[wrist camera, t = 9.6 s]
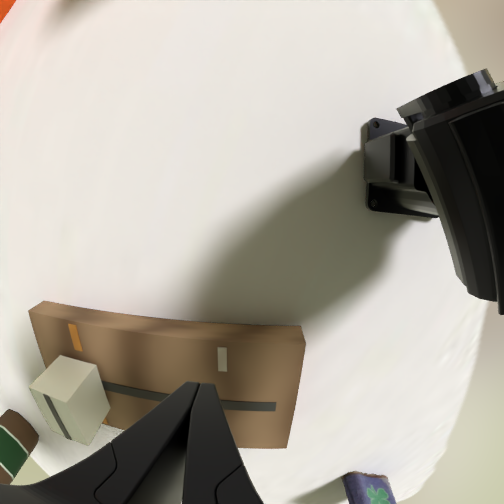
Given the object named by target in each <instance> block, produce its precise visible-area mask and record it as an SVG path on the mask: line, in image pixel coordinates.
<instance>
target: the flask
mask: <svg viewBox="0 0 504 504" xmlns="http://www.w3.org/2000/svg"><path fill="white" fill-rule="evenodd" d="M342 480H343V483H344V486H345V490H346V495H347V497H348V501H349V504H396V501H395V498H394V496H393V493H392V490H391V487H390V483H389V482H388V478H387V477H386V476H384V475H382V476H379V475H376V474H368V475H367V473H364V474H363V473H362V472H357V471H353V472H348V473H347V474H345V475H343V477H342Z"/></svg>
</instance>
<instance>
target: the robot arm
mask: <svg viewBox="0 0 504 504" xmlns="http://www.w3.org/2000/svg"><path fill="white" fill-rule="evenodd" d="M397 111H398V113H399V114H400V116H401V118H404V120H405V122H406V124H407V125H405V124H401V123H397V122H393V121H388V120H384V119H379V118H373V119H371V120H369V122H368V141H367V142H366V143H365V158H364V180H365V181H366V182H367V187H366V207H367V208H368V209H369V210H371V211H378V212H388V213H397V214H406V215H415V216H423V217H431V218H438V217H439V218H440V221H441V224H442V227H443V230H444V233H445V236H446V239H447V242H448V246H449V249H450V253H451V256H452V260H453V264H454V268H455V272H456V275H457V276H458V278H459V279H460V280H461V281H462V283H463V284H464V285H465V286H466V287H467V292H468V293H469V294H471V295H473V296H475V297H477V298H479V299H484V300H489V301H493V302H498V312H499V314H500V315H504V81H503V82H500V83H497V84H495V83H494V81H493V79H492V78H491V76H490V74H489V72H488V70H487V69H484V70H481V71H478V72H476V73H473V74H471V75H468V76H466V77H463V78H461V79H458V80H456V81H454V82H451V83H449V84H447V85H444V86H442V87H440V88H438V89H436V90H433V91H431V92H429V93H427V94H425V95H423V96H421V97H419V98H417V99H415V100H413V101H411V102H409V103H407V104H405V105H403V106H401V107H399V108H397ZM373 122H375V123H376V124H377V128H375V127H374V126H373ZM372 200H374V201H375V206H374V207H372V206H371V201H372ZM181 501H182V504H264V503H263V501H262V500H261V498H260V496H259V495H258V493H257V491H256V489H255V487H254V485H253V483H252V481H251V479H250V477H249V475H248V472H247V470H246V468H245V466H244V463H243V461H242V458H241V456H240V453H239V450H238V448H237V445H236V443H235V440H234V437H233V435H232V432H231V429H230V427H229V424H228V421H227V418H226V415H225V413H224V410H223V407H222V404H221V401H220V398H219V395H218V392H217V389H216V386H215V384H213V383H201V384H200V383H199V382H194V381H186V382H185V383H183V384H182V385H181V386H180V387H179V388H177V389H176V390H175V391H174V392H173V393H171V394H170V395H169V396H168V397H167V398H165V399H164V400H163V401H162V402H160V403H159V404H158V405H157V406H156V407H154V408H153V409H152V410H151V411H149V412H148V413H147V414H146V415H144V416H143V417H142V418H141V419H139V420H138V421H137V422H135V423H134V424H133V425H132V426H130V427H129V428H128V429H126V430H125V431H124V432H122V433H121V434H120V435H118V436H117V437H116V438H115V439H113V440H112V441H111V443H110V442H109V443H108V444H106V445H105V446H104V447H102V448H101V449H99V450H98V451H96V452H95V453H93V454H92V455H90V456H89V457H87V458H86V459H84V460H82V461H80V462H79V463H77V464H75V465H73V466H71V467H69V468H67V469H65V470H63V471H61V472H59V473H57V474H55V475H53V476H51V477H49V478H47V479H45V480H42V481H40V482H37V483H34V484H30V485H21V486H19V485H18V486H17V485H8V484H0V504H181Z"/></svg>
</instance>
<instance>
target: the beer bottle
mask: <svg viewBox="0 0 504 504" xmlns="http://www.w3.org/2000/svg"><path fill="white" fill-rule="evenodd" d="M38 437H39V435H38V434H37V433H36V431H35V430H34V428H33V427H32V426H31V424H30V423H29V422H27V421H26V420H25V419H24V418H23V417H22V416H21V415H20V414H19V413H17V412H15V411H13V410H10V409H9V410H7V411H6V412H5V413H4V414H3V415H2V416H1V417H0V484H8V485H10V483H11V482H12V481H13V479H14V478H15V476H16V475H17V473H18V472H19V470H20V469H21V467H22V466H23V464H24V462H25V461H26V460H27V458H28V457H29V455H30V454H31V452H32V451H33V450H34V448H35V446H36V445H37V443H38Z"/></svg>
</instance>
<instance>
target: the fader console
mask: <svg viewBox="0 0 504 504" xmlns="http://www.w3.org/2000/svg"><path fill="white" fill-rule="evenodd" d="M28 312H29V316H30V319H31V323H32V327H33V330H34V334H35V337H36V340H37V343H38V346H39V349H40V352H41V355H42V358H43V361H44V364H45V366H46V369H47V368H48V367H49V366H50V365H51V364H52V363H53V362H54V361H55V360H56V359H57V358H58V357H59V356H60V355H62V356H65V357H69V358H72V359H76V360H79V361H83V362H87V363H91V364H95V365H96V366H97V369H98V372H99V376H100V379H101V382H102V385H103V388H104V391H105V394H106V397H107V400H108V402H109V405H110V410H109V412H108V413H107V415H106V417H105V419H104V420H103V422H102V424H105V425H109V426H112V427H115V428H119V429H123V430H126V429H128V428H129V427H130V426H132V425H133V424H134V423H135V422H137V421H138V420H139V419H141V418H142V417H143V416H144V415H146V414H147V413H148V412H149V411H151V410H152V409H153V408H154V407H156V406H157V405H158V404H159V403H160V402H162V401H163V400H164V399H165V398H167V397H168V396H169V395H170V394H171V393H173V392H174V391H175V390H176V389H177V388H179V387H180V386H181V385H182V384H183V383H185V382H186V381H194V382H199V383H200V384H201V383H213V384H215V386H216V389H217V392H218V395H219V398H220V401H221V404H222V407H223V410H224V413H225V415H226V418H227V421H228V424H229V427H230V429H231V432H232V435H233V437H234V440H235V443H236V445H237V448H262V449H279V448H287V443H288V439H289V434H290V430H291V425H292V420H293V415H294V410H295V405H296V400H297V394H298V389H299V383H300V377H301V371H302V365H303V359H304V353H305V346H306V342H305V339H304V335H303V332H302V329H301V326H271V325H243V324H224V323H209V322H195V321H184V320H173V319H163V318H153V317H144V316H136V315H128V314H121V313H113V312H106V311H100V310H93V309H87V308H81V307H75V306H69V305H64V304H59V303H53V302H48V301H43V302H41V303H40V304H38V305H36V306H35V307H33V308H32V309H30V310H29V311H28Z"/></svg>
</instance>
